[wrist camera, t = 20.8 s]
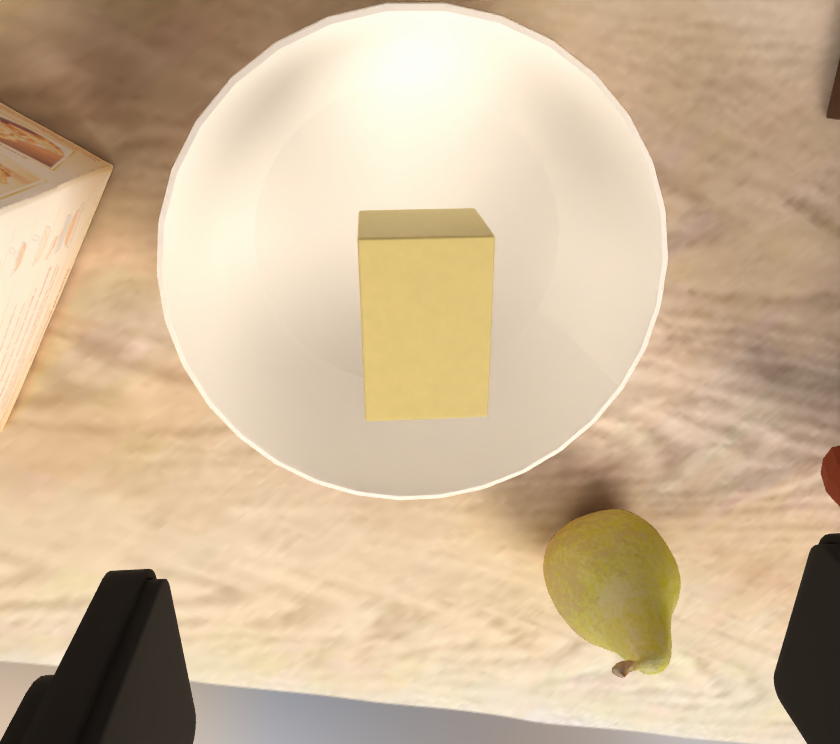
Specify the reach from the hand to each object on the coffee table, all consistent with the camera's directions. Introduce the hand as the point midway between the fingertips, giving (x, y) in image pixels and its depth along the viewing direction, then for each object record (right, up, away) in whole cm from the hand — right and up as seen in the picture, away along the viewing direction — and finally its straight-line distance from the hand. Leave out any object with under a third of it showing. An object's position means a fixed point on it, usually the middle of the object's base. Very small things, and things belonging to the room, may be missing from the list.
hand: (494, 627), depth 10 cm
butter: (-1, +7, +15) cm, 16 cm away
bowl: (-2, +10, +21) cm, 24 cm away
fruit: (+8, -5, +29) cm, 31 cm away
